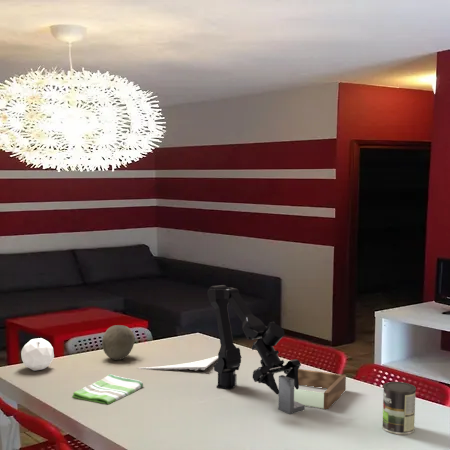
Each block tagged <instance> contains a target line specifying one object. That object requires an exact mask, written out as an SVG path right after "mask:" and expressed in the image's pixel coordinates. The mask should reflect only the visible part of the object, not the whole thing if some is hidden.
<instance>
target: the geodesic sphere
mask: <svg viewBox="0 0 450 450" xmlns="http://www.w3.org/2000/svg"><path fill="white" fill-rule="evenodd" d="M20 353H21V360H22V362H23V364H24V367H26V368H28V369H30V370H32V371H33V372H35V371H42V370H45V369H46V368H48V367H49V366H50V365H51V364H52V361H53V360H54V358H55V354H54V347H53V346H52V344H51V343H50V342H49V341H48V340H46V339H44V338H42V337H40V338H39V337H38V338H32V339H30V340H29V341H28V342H27V343H25V344H24V346H23V347H22V349H21V351H20Z"/></svg>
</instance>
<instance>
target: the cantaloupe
mask: <svg viewBox="0 0 450 450" xmlns="http://www.w3.org/2000/svg"><path fill="white" fill-rule="evenodd" d="M101 345H102V349H103V352H104V354H105V355H106V356H107V357H108V358H110V359H112V360H114V361H122V360H123V359H125V358H127V357H128V356H129V355H130V353H131V352H132V350H133V348H134V346H135V334H134V332H133V331H132V330H131V328H130V327H128V326H126V325H121V324H117V325H116V324H115V325H112V326H110V327H108V328H107V329H106V331H105V332H104V335H103V337H102V343H101Z"/></svg>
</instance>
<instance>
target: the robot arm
mask: <svg viewBox="0 0 450 450" xmlns="http://www.w3.org/2000/svg"><path fill="white" fill-rule="evenodd" d="M206 294H207V298H208V302H209V304H210V306H212V308H213V309H214V313H215V318H216V324H217V325H216V326H217V331H218V337H219V342H220V346H219V347H220V348H219V350H218V353H217V356H218V359H217V360H216V361H215V362H214V363H215V364H213V370H214V372H216V373H217V385H216V388H217V389H218V388H219V389H229V390H233V389H234V388H235V387H236V386H237V380H238V378H237V377H238V376H237V373H236V371H239V370H240V366H241V363H242V355H241V349H240V347H236V345H235V344H234V339H233V338H234V337H233V333H232V326H231V322H230V316H229V309H228V306H229V305H230V306H231V308H233V310H234V312H235V314H236V316H237V317H238V318H239V319H240V321H241V324H242V325H241V327H242V328H241V330H242V332H243V333H244V336H245V338H246V339H247V340H249V341H250V340H251V341H252V340H256V341H253V342H252V346H251V350H252V351H254V350H256V351H257V353H258V355H259V357H260V361H259V362H260V365H261V366H259V367H258V368H256V369H254V370H253V372H252V379H253V381H254V382H255V383H258V384H265V385H266V386H267V387H269V389H271V391H272V392H274V394H276V395H279V386H278V385H277V381H276V380H275V379H276V378H275V377H274V376H275V374H277V373H282V372H283V373H284V375H285V376H287V377H289V378H292V379H294V389H300V388H299V387H300V385H299V382H298V369H301V368H300V367H301V366H302V364H301V362H300V360H299V359H291V360H288V361H287V362H286V364H285V360H284V359H282V360H281V359H280V357H279V355H278V354H279V353H280V352H279V350H276V349H275V346H277V344H278V343H279V342H280V341H281V340H282V338H283V337H284V336H285V330H284V328H283V327H282V326H281V325H279V324H276V323H275V321H271V322H270V321H269V323H268V325H267V326H266V324H264V321H262V319H260V318H258V317H257V316H255V314H253V312H252V311H251V309H250V308H249V306H248V305H247V304H246V302H245V300H244V299H243V296H241V294H240V291H239V289H238V288H234V287H228V286H226V285H225V284H221V285H212V286H210V287H209V288H208V290H207V293H206ZM284 364H285V365H284Z"/></svg>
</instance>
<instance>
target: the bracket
mask: <svg viewBox="0 0 450 450" xmlns="http://www.w3.org/2000/svg"><path fill="white" fill-rule="evenodd" d="M278 390H279V394H277V395H278V401H277V402H278V409H277V410H279V411H281V412H284V413H286V414H288V415H292V414H296V413H299V412H303V410H304V411H305V410H306V409H305V408H306V406H305V405H303V404H301V403H298V402H296V401H294V390H295V387H294V379H292V378H289V377H287V376H286V375H285V374H281V375H278Z"/></svg>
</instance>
